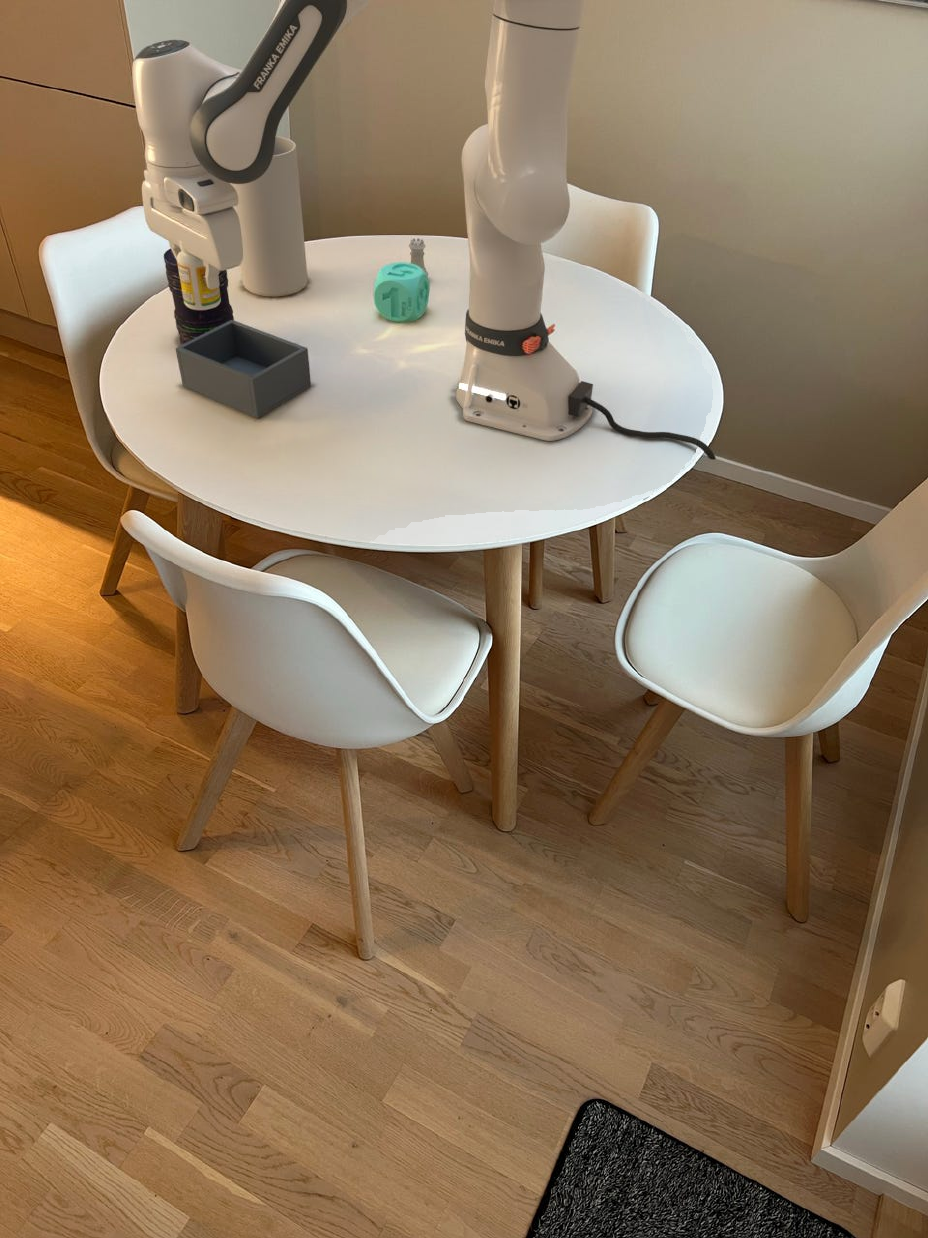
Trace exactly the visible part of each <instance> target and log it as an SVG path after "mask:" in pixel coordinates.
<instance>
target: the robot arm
mask: <svg viewBox="0 0 928 1238" xmlns="http://www.w3.org/2000/svg"><path fill="white" fill-rule="evenodd" d="M372 1H373V0H280V2H279V5H278V8H277V10H276V13H275V15H274V17H273V19H272V21H271V23H270V25H269V26H268V28H267V30H266V31H265V33H264V34H263V36H262V38H261V40H260V41H259V42H258V44H257V46H256V48H255V49H254V51H253V52H252V54H251V56H250V57H249V59H248V61H246V64H245V66H244V67H243V69H239V68H236V67H233V66H230V65H227V64H224V63H222V62H219V61H218V60H216V59H213V58H211V57H210V56H208V55H206V54H205V53H203V52H201V51H200V50H199V49H198V48H196V47H195V46H194V45H193V44H192V43H191V42H190V41H188V40H187V41H186V40H183V39H169V40H163V41H158V42H155V43H152V44H150V45H147V46H145V47H143V48H142V49H141V50H140V51H139V52H138V54H137V55H136V56H135V58H134V60H133V62H132V70H131V72H132V73H131V74H132V77H131V78H132V88H133V89H132V90H133V96H134V97H133V98H134V103H135V110H136V115H137V122H138V125H139V128H140V129H141V132H142V135H143V138H144V142H145V148H144V159H145V164H146V167H145V170H143V176H144V180H143V181H142V184H141V195H142V197H141V198H142V205H143V213H144V219H145V223H146V225H147V227H148V229H149V230H150V232H151V233H154V234H156V235H157V236H159V237H161V238H163V239H164V240H166V241H168V244H169V249H170V248H171V250H172V252H173V254H174V256H175V258H176V260H177V256H178V254H179V252H181V249H180V247H179V246H180V245H179V241H181V242H183V243H184V246H185V248H186V250H187V251H188V252H189V253H191V254H193V255H194V256H196V257H198V258H200V259H201V260H203V265H204V266H205V267H206V272H205V274H204V275H202V278H203V281H204V282H203V284H204V286H206V287H207V288H209V289H211V290H212V289H215V288H218V287H219V285H220V284H219V277H218V275H219V272H220V270H221V271H224V270H227V271H228V270H231V269H234V268H237V267H240V264H241V262H242V260H243V243H242V234H241V226H240V221H239V217H238V214H237V212H236V210H235V209H234V208H233V206H236V205H238V203H239V200H238V193H237V191H236V189H235V188H234V187H233V186H232V185H231V184H230V183H232V184H246V183H250V182H252V181H255V180H256V179H258V178H260V177H261V176H262V175H263V174H264V173H265V172H266V170H267V169H268V167H269V165H270V163H271V161H272V157H273V153H274V146H275V138H276V136H277V133H278V129H279V125H280V123H281V121H282V118H283V117H284V115H285V112H286V111H287V109H288V108H289V106H290V104H291V103H292V102H293V100H294V98H295V97H296V95H297V94H298V93H299V91H300V89H301V87H302V86H303V84H304V83H305V81H306V80H307V78H308V77H309V75H310V74H311V72H312V70H313V68H314V67H315V65H316V64H317V63H318V61H319V60H320V58H321V56H322V54H323V53H324V52H325V51H326V50H327V49H328V47H329V46H330V45H331V44H332V43H333V42H334V41H335V40H336V39H337V37H338V36H339V35H340V34H341V33H342V32H343V31H344V30H345V29H346V28H347V27H348V26H349V25H350V24H351V23H352V22H353V21H354V20H355V19H356V18H357V17H358V16H359V15H360V14H361V13H362V12H363V11H364V10H365V8H367V7H368V5H369V4H370V3H372ZM583 7H584V0H494V2H493V8H492V15H491V16H492V17H491V25H490V32H489V42H488V48H487V49H488V50H487V58H486V59H487V60H486V67H485V77H484V90H485V97H486V108H487V109H486V110H487V111H486V112H487V123H486V124H484V125H481V126H479V127H478V128H477V129H475V130H473V132H472V133H471V134H470V135H469V136H468V138H467V139H466V141H465V143H464V145H463V148H462V151H461V159H460V160H461V171H462V178H463V179H462V180H463V192H464V210H465V222H466V233H467V241H468V242H467V243H468V251H469V252H468V253H469V289H468V290H469V291H468V309H467V310H466V312H465V321H464V337H465V341H466V344H465V345H466V346H465V354H464V359H463V360H464V361H463V366H462V371H461V375H460V379H459V382H458V385H457V387H456V390H455V400H456V402H457V403H458V404H459V406H460V407H461V409H462V418H463V419H464V421H467V422H469V423H474V424H478V425H482V426H486V427H489V428H494V429H498V430H501V431H505V432H510V433H512V434H513V433H514V434H517V435H522V436H526V437H530V438H533V439H537V440H541V441H546V442H555V441H559V440H562V439H564V438H567V437H569V436H571V435H573V434H574V433H576V432H577V431H578V430H580V429H581V428H583V426H584V425H586V423H587V422H588V421H589V420H590V419H591V416H592V414H593V409H595V410H597V411H598V412H600V413H601V414H602V415H603V416H604V417H605V418H606V420H607V423H608V425H609V426H610V427H611V428H612V429H613V430H615V431H616V432H618V433H619V434H622V435H625V436H630V437H636V438H642V439H669V440H674V441H678V442H683V443H689V444H692V445H694V446H696V447H698V448H699V449H700V450H702V451H703V452H704V454H705V455H706V456H707V458H708V459H710V460H713V461H714V460H717V458H716V456H715V453H714V452H713V451H712V449H711V448H710V447H709V446H708V445H707V444H706V443H705V442H703V441H702V440H700V439H698V438H695V437H693V436H689V435H685V434H680V433H674V432H669V431H643V430H642V431H641V430H635V429H629V428H626V427H624V426H621V425H620V424H618V423H617V422H615V420H614V417H613V415H612V413H611V412H610V411H609V410H608V409H607V407H605V406H603V405H602V404H600V403H599V402H597V401H595V400H593V399H592V396H593V389H594V384H593V383H591V382H588V381H587V382H586V381H584V380H581V381H580V376H579V373H578V372H577V370H576V369H575V368H574V367H573V365H571V364H570V363H569V361H567V360H566V359H565V358H564V356H563V355H562V354H561V353H560V352H559V350H558V349H557V348H556V347H555V346H554V345H553V344H552V343H551V342H550V341H549V340H550V338H549V336H550V335H552V334H553V333H554V332H555V327H556V324H555V323H552V324H551V325H550V326H548V327H547V326H546V323H545V319H544V316H543V314H542V303H543V290H544V280H545V272H546V271H545V268H546V267H545V265H546V264H545V259H544V255H543V249H542V244H544V243H546V242H548V241H550V240H551V239H553V238H554V237H555V236H556V235H558V233H559V232H561V230H562V228H563V227H564V226H565V224H566V222H567V220H568V217H569V214H570V207H571V199H570V198H571V197H570V192H569V187H568V178H567V177H568V175H567V165H568V163H567V161H568V113H569V112H568V110H569V97H570V89H571V82H572V75H573V69H574V63H575V58H576V51H577V45H578V39H579V33H580V28H581V27H580V26H581V21H582V15H583V9H584V8H583Z"/></svg>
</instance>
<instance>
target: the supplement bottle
mask: <svg viewBox="0 0 928 1238" xmlns="http://www.w3.org/2000/svg"><path fill="white" fill-rule="evenodd" d="M179 245H180V246H179V247H180V249H181V252H179V254H178V256H177V264H178V270H179V276H180V281H181V288H182V294H183V299H184V303H185V305H186V306H187V307H188V308H190V309H194V310H207V309H211V308H214V307H216V306H218V305H219V304H220V301H221V297H220V289H219V287H218V288H215V289H212V290H211V289H209V288H207V287H206V286H204V284H203V282H204V281H203V278H202V275H204V274H205V272H206V267H205V266H204V265H203V260H201V259H200V258H198V257H196V256H194V255H193V254H191V253H189V252H188V251H187V250H186V248H185V246H184V243H183V242H181V241H179Z"/></svg>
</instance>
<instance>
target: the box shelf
mask: <svg viewBox="0 0 928 1238" xmlns="http://www.w3.org/2000/svg"><path fill="white" fill-rule="evenodd" d="M174 349H175V354H176V360H177V363H178V369H179V374H180V379H181V384H182V387H183V388H186V389H188V390H190V391H193V392H195V393H197V394H199V395H202V396H203V397H206V398H209V399H211V400H213V401H216V402H218V403H221V404H223V405H226V406H227V407H230V408H232V409H235V410H237V411H239V412H241V413H243V414H246V415H248V416H251V417H252V418H256V419H260V418H262V417H263V416H265V415H267V414H268V413H270V412H271V411H273V410H274V409H277V408H278V407H279V406H282V405H283V404H285V403H287V402H288V401H289V400H291V399H293V398H294V397H296V396H298V395H299V394H301V393H303V392H304V391H306V390H307V389H309V388H311V387H312V382H311V379H312V378H311V371H310V369H311V368H310V360H309V359H310V358H309V348H308V347H306V346H303V345H300V344H298V343H295V342H292V341H290V340H287V339H285V338H281V337H279V336H276V335H274V334H271V333H268V332H265V331H263V330H260V329H258V328H255V327H253V326H249V325H247V324H245V323H241V322H239V321H237V320H235V319H234V320H230V321H228V322H226V323H224V324H222V325H220V326H218V327H216V328H214V329H212V330H210V331H208V332H206V333H204V334H202V335H200V336H198V337H196V338H194V339H192V340H190V341H188V342H186V343H184V344H182V345H181V344H180V345H179V346H177V347H175V348H174Z"/></svg>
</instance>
